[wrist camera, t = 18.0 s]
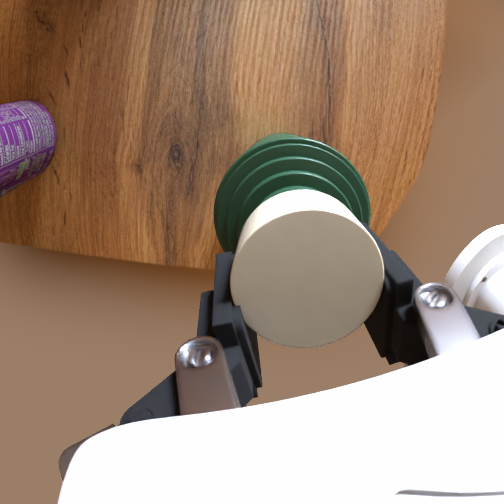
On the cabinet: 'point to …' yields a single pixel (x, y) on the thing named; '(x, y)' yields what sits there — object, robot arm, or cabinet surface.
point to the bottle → (284, 181)
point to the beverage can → (24, 142)
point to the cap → (305, 270)
